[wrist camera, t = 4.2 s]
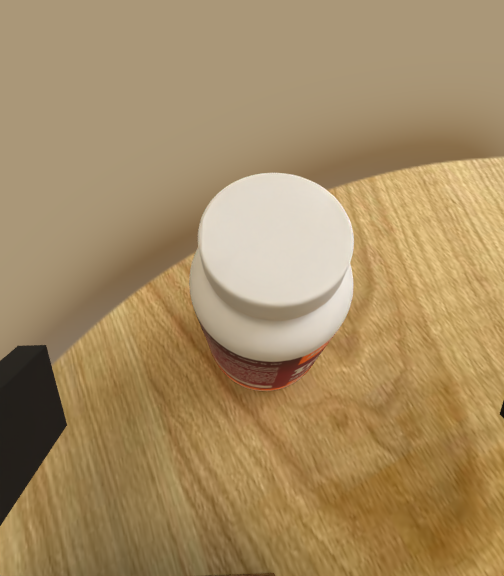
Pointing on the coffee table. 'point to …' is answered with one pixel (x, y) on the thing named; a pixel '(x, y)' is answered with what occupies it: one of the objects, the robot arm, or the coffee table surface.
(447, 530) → the coffee table surface
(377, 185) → the coffee table surface
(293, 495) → the coffee table surface
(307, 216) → the pill bottle
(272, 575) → the control
